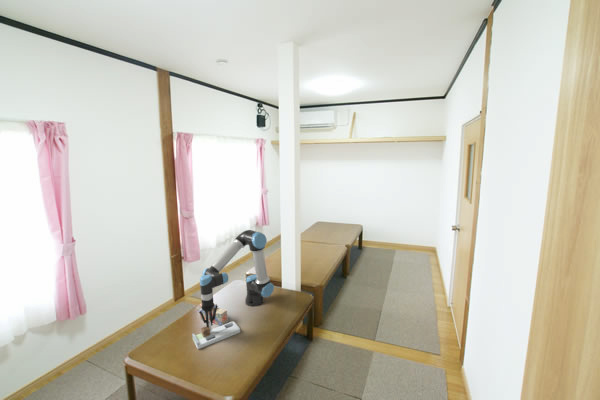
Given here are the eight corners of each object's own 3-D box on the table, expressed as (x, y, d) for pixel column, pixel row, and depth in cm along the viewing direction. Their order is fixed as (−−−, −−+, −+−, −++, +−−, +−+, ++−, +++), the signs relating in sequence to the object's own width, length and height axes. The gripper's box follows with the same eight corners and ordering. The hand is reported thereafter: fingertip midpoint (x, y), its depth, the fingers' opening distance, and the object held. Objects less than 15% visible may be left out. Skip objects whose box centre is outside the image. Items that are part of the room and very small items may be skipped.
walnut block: (208, 331, 191) (207, 325, 191) (210, 334, 188) (209, 328, 187) (201, 334, 189) (201, 328, 188) (203, 337, 185) (203, 331, 185)
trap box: (233, 324, 204) (233, 318, 203) (240, 332, 194) (239, 326, 193) (192, 339, 187) (192, 333, 187) (197, 349, 177) (197, 343, 177)
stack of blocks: (227, 321, 207) (226, 306, 206) (222, 326, 202) (220, 310, 200) (206, 315, 217) (204, 300, 215) (200, 319, 211) (198, 304, 209)
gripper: (215, 293, 194) (217, 324, 197) (195, 299, 186) (198, 331, 190) (218, 297, 187) (221, 329, 191) (198, 303, 180) (201, 336, 184)
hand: (209, 330), depth 190 cm, fingers closed
